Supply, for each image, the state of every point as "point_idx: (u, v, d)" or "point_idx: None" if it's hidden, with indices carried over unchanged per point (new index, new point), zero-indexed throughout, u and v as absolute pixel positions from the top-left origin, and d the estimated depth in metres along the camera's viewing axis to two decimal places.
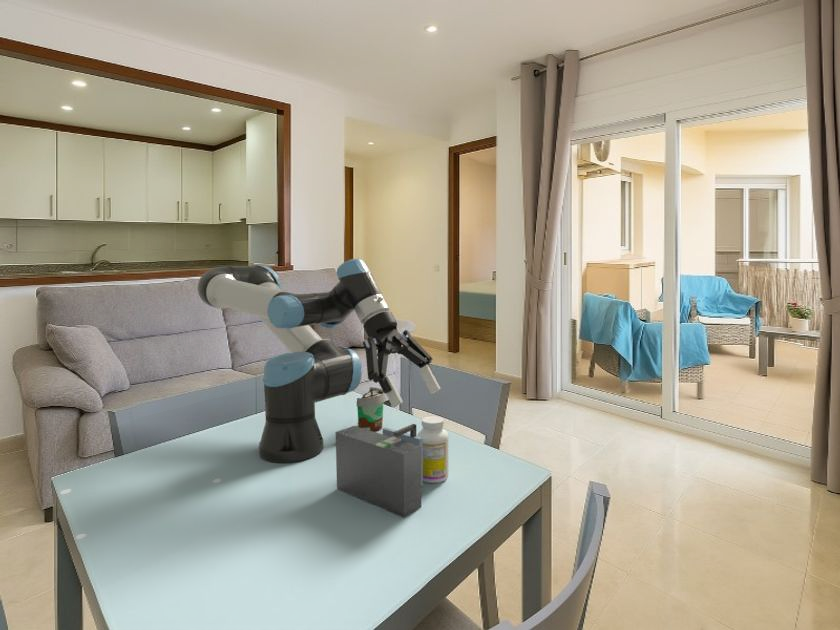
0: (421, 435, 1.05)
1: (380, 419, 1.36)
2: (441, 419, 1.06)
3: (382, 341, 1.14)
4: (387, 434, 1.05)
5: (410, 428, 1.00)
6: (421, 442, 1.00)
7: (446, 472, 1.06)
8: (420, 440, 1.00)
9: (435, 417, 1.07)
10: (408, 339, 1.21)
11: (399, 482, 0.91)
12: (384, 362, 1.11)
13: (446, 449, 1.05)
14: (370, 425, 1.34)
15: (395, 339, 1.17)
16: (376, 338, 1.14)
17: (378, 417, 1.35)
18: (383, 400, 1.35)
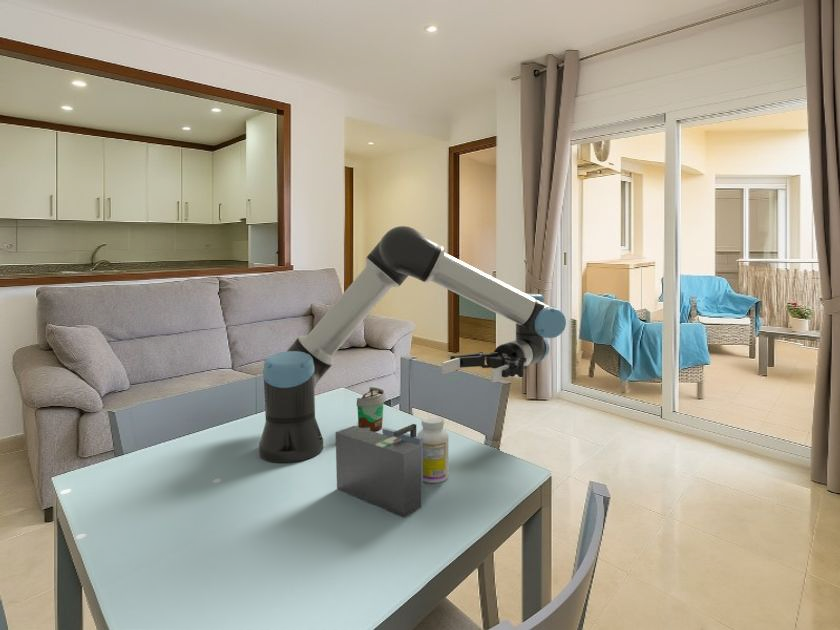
0: (421, 435, 1.05)
1: (380, 419, 1.36)
2: (441, 419, 1.06)
3: None
4: (387, 434, 1.05)
5: (410, 428, 1.00)
6: (421, 442, 1.00)
7: (446, 472, 1.06)
8: (420, 440, 1.00)
9: (435, 417, 1.07)
10: None
11: (399, 482, 0.91)
12: None
13: (446, 449, 1.05)
14: (370, 425, 1.34)
15: None
16: (516, 364, 1.25)
17: (378, 417, 1.35)
18: (383, 400, 1.35)
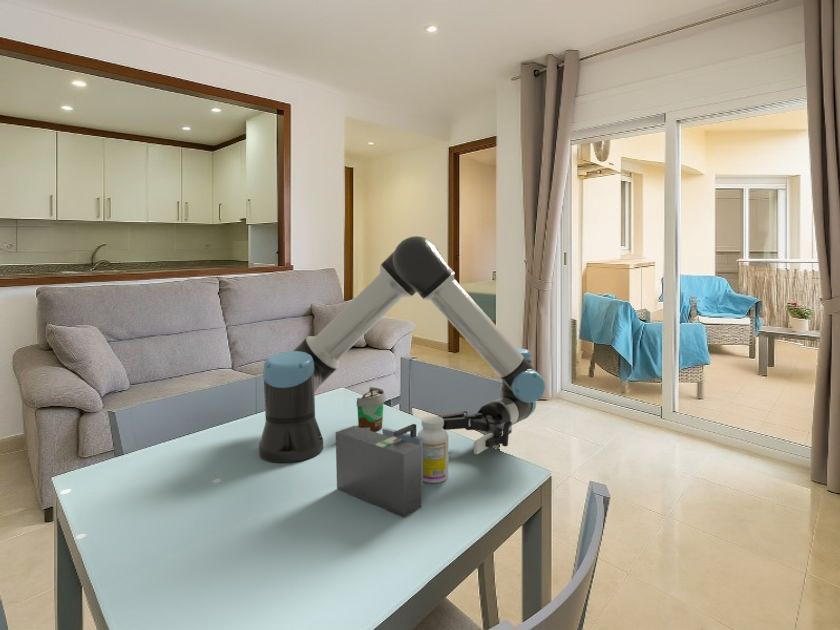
0: (421, 435, 1.05)
1: (380, 419, 1.36)
2: (441, 419, 1.06)
3: None
4: (387, 434, 1.05)
5: (410, 428, 1.00)
6: (421, 442, 1.00)
7: (446, 472, 1.06)
8: (420, 440, 1.00)
9: (435, 417, 1.07)
10: None
11: (399, 482, 0.91)
12: None
13: (446, 449, 1.05)
14: (370, 425, 1.34)
15: None
16: None
17: (378, 417, 1.35)
18: (383, 400, 1.35)
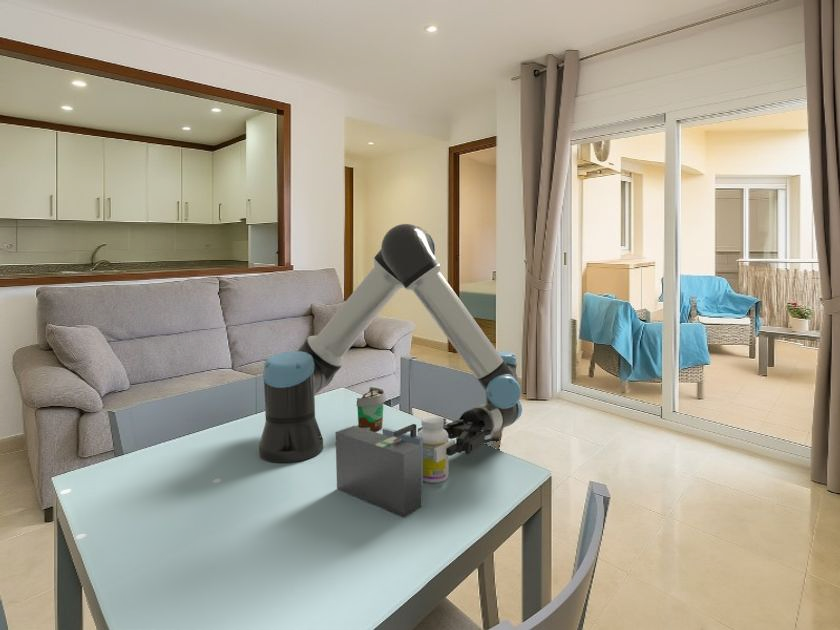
0: (421, 435, 1.05)
1: (380, 419, 1.36)
2: (441, 419, 1.06)
3: None
4: (387, 434, 1.05)
5: (410, 428, 1.00)
6: (421, 442, 1.00)
7: (446, 472, 1.06)
8: (420, 440, 1.00)
9: (435, 417, 1.07)
10: None
11: (399, 482, 0.91)
12: None
13: None
14: (370, 425, 1.34)
15: None
16: None
17: (378, 417, 1.35)
18: (383, 400, 1.35)
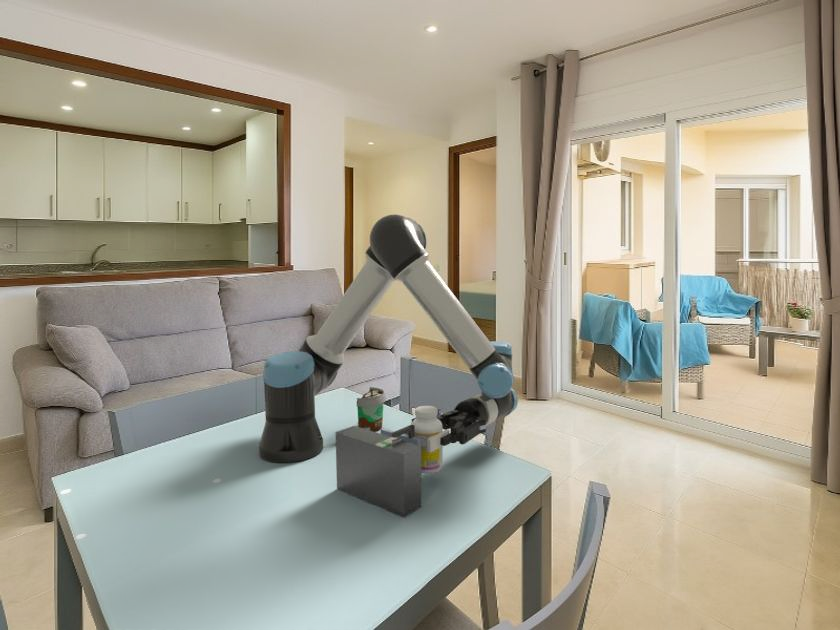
0: None
1: (380, 419, 1.36)
2: (435, 408, 1.04)
3: None
4: None
5: (408, 429, 0.99)
6: (419, 443, 1.00)
7: (440, 462, 1.04)
8: (418, 441, 0.99)
9: (429, 407, 1.05)
10: None
11: (399, 482, 0.91)
12: None
13: None
14: (370, 425, 1.34)
15: None
16: None
17: (378, 417, 1.35)
18: (383, 400, 1.35)
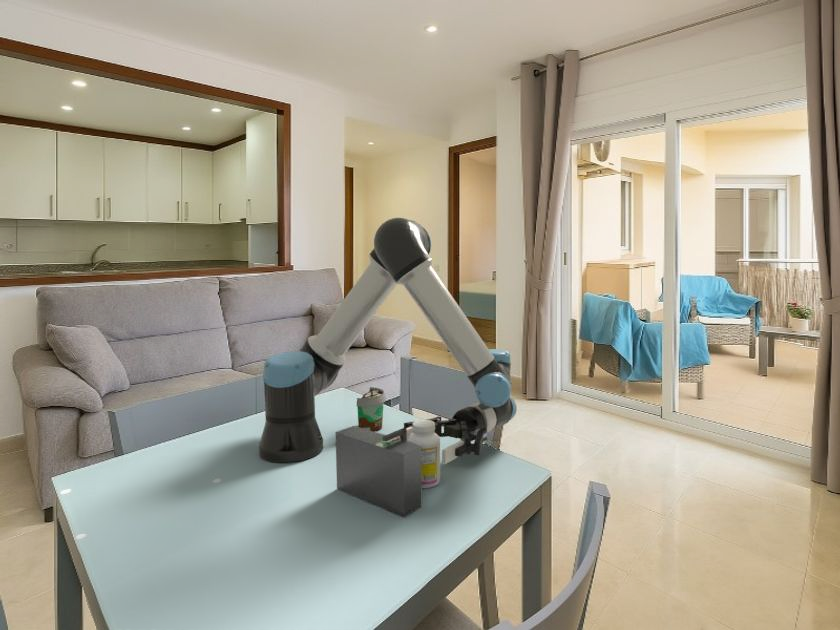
0: (412, 439, 1.02)
1: (380, 419, 1.36)
2: (432, 423, 1.04)
3: None
4: None
5: (400, 432, 0.97)
6: None
7: (437, 477, 1.03)
8: None
9: (426, 421, 1.05)
10: None
11: (399, 482, 0.91)
12: None
13: (437, 453, 1.03)
14: (370, 425, 1.34)
15: None
16: (475, 434, 1.12)
17: (378, 417, 1.35)
18: (383, 400, 1.35)
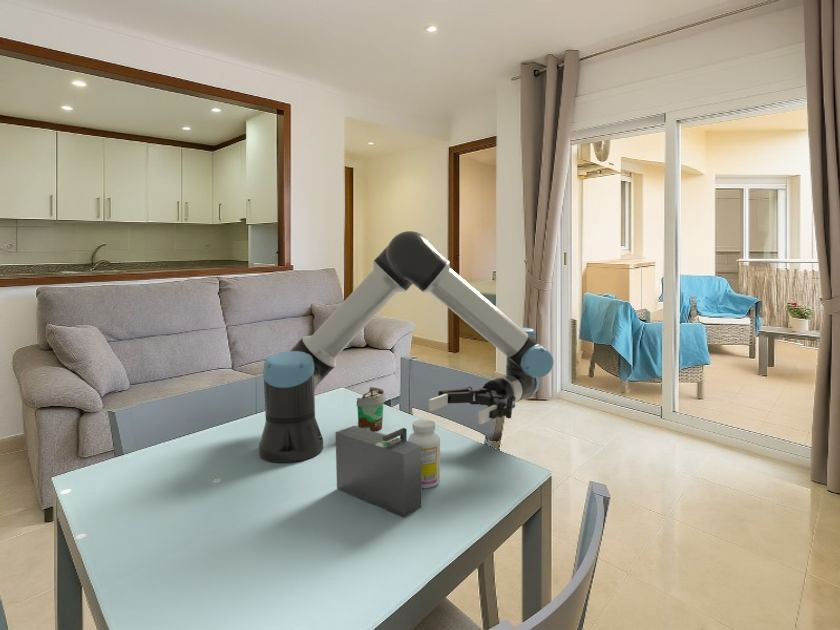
0: (412, 439, 1.02)
1: (380, 419, 1.36)
2: (432, 423, 1.04)
3: None
4: None
5: (400, 432, 0.97)
6: None
7: (437, 477, 1.03)
8: None
9: (426, 421, 1.05)
10: None
11: (399, 482, 0.91)
12: None
13: (437, 453, 1.03)
14: (370, 425, 1.34)
15: None
16: (504, 402, 1.23)
17: (378, 417, 1.35)
18: (383, 400, 1.35)
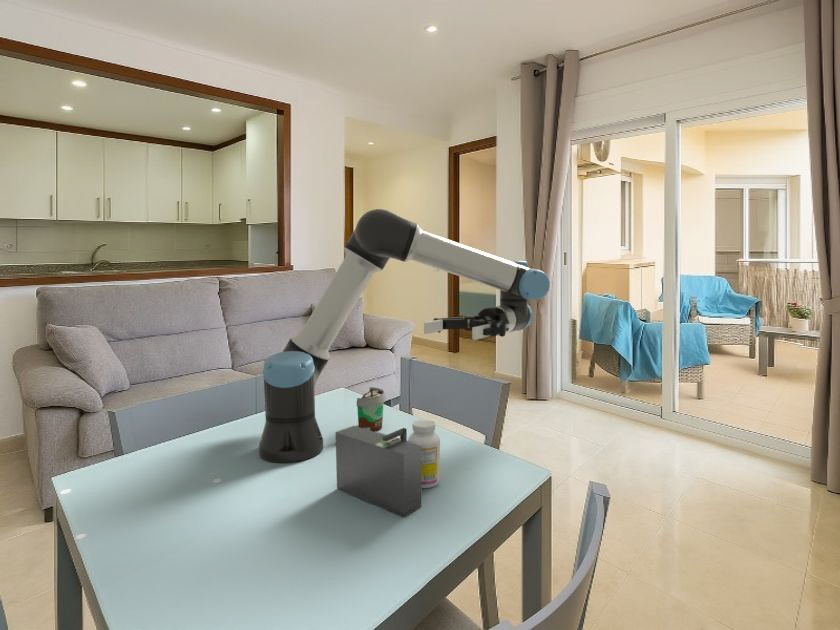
0: (412, 439, 1.02)
1: (380, 419, 1.36)
2: (432, 423, 1.04)
3: None
4: None
5: (400, 432, 0.97)
6: None
7: (437, 477, 1.03)
8: None
9: (426, 421, 1.05)
10: None
11: (399, 482, 0.91)
12: None
13: (437, 453, 1.03)
14: (370, 425, 1.34)
15: None
16: None
17: (378, 417, 1.35)
18: (383, 400, 1.35)
